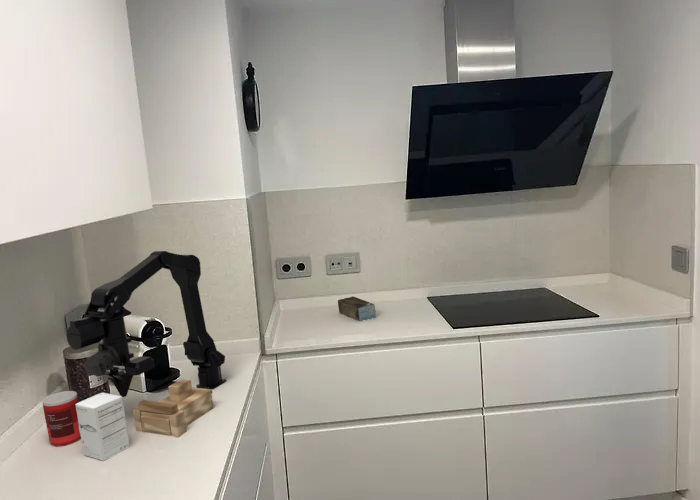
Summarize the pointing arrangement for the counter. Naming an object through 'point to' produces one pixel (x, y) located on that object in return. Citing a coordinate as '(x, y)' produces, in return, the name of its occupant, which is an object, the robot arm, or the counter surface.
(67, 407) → the canned food
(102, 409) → the supplement box
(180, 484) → the counter surface
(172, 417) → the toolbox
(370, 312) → the beverage carton
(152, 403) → the brown wooden bar
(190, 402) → the lid
